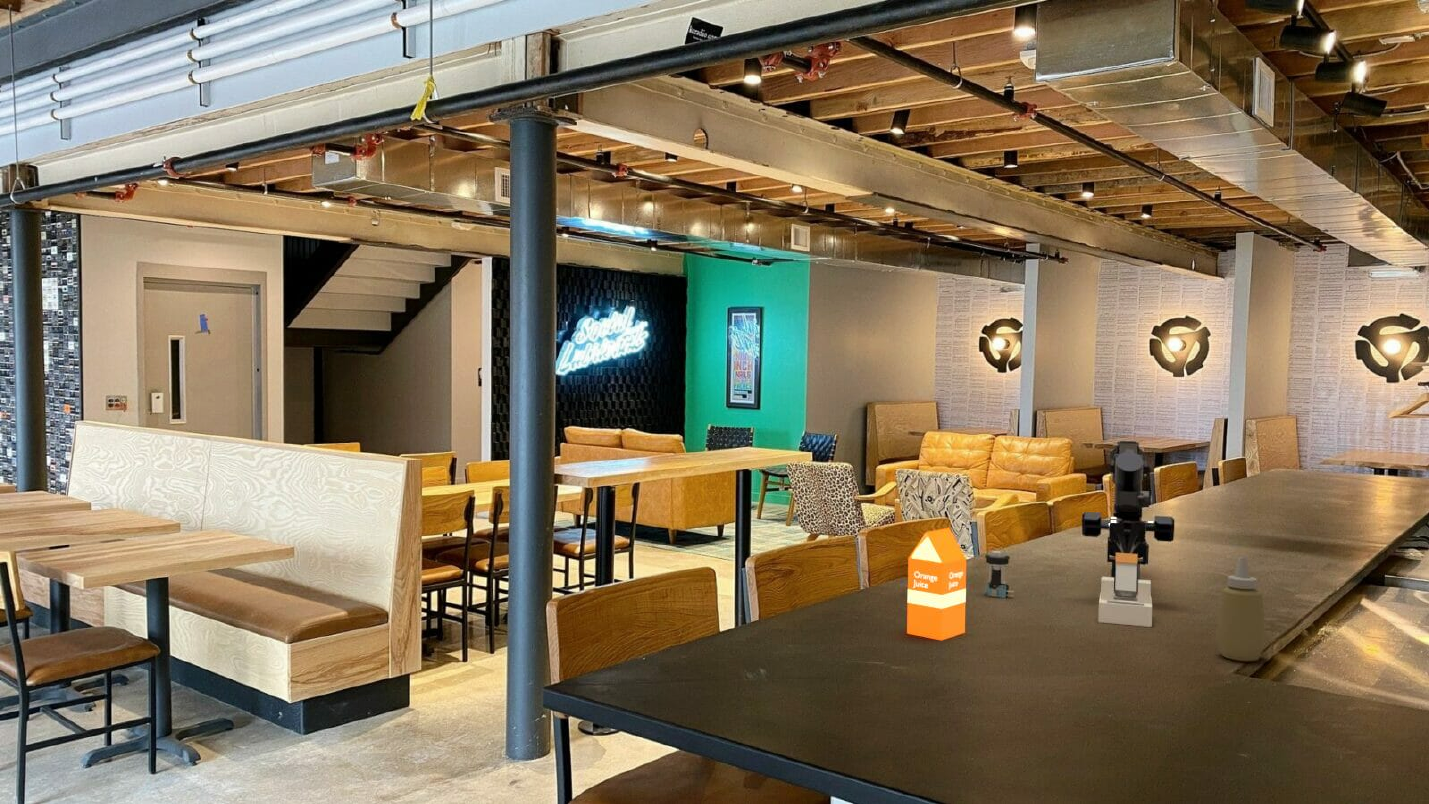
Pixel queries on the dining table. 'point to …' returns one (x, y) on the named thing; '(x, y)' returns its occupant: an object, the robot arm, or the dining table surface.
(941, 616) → the orange juice
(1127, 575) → the lever
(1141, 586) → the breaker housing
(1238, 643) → the squeeze bottle
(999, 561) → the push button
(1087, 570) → the dining table surface
